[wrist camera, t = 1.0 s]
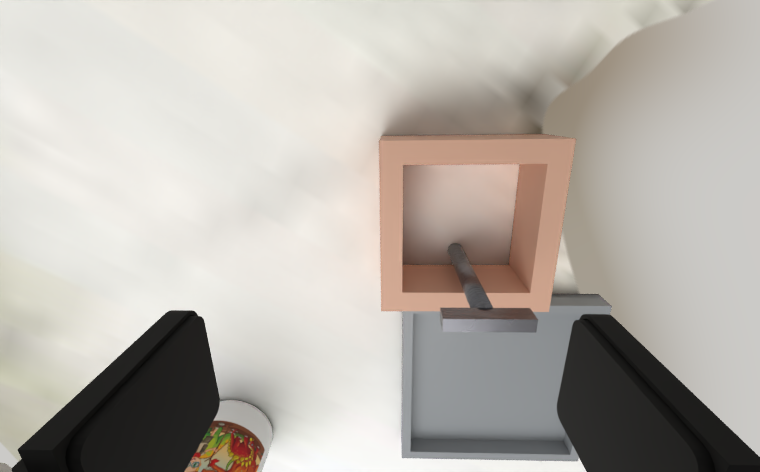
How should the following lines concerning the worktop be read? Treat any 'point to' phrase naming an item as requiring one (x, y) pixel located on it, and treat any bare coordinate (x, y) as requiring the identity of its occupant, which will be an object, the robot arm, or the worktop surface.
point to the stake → (481, 305)
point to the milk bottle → (234, 440)
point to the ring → (530, 226)
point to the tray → (488, 386)
